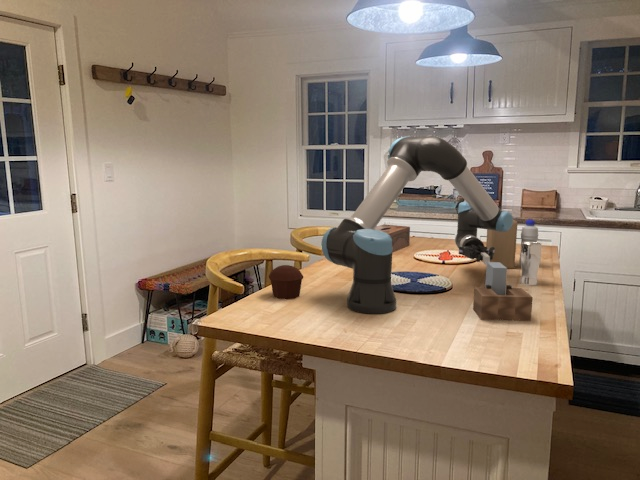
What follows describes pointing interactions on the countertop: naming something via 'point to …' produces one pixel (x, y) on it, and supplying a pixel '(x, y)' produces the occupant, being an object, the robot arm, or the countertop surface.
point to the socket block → (502, 304)
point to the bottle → (529, 233)
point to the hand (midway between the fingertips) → (487, 260)
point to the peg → (496, 277)
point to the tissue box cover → (396, 235)
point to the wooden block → (503, 245)
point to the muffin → (286, 282)
